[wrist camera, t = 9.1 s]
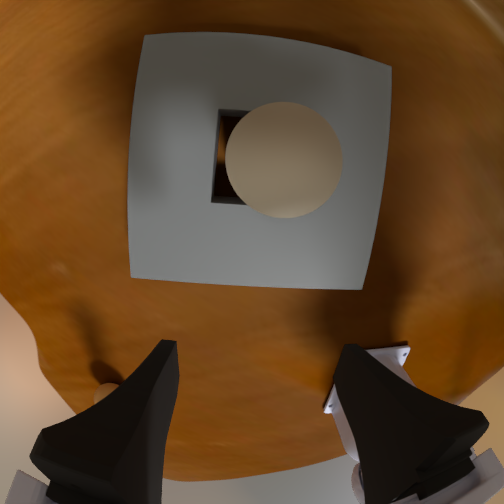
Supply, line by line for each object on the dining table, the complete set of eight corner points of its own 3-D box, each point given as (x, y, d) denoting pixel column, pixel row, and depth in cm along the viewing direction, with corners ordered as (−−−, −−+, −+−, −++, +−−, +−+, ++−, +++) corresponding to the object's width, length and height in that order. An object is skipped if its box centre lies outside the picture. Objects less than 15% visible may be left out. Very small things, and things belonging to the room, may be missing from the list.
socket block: (347, 273, 22) (361, 289, 19) (143, 261, 20) (131, 277, 17) (372, 75, 16) (391, 66, 13) (156, 50, 15) (144, 35, 12)
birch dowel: (284, 188, 19) (335, 222, 10) (227, 184, 19) (222, 214, 9) (289, 132, 18) (346, 112, 8) (231, 127, 17) (229, 96, 8)
